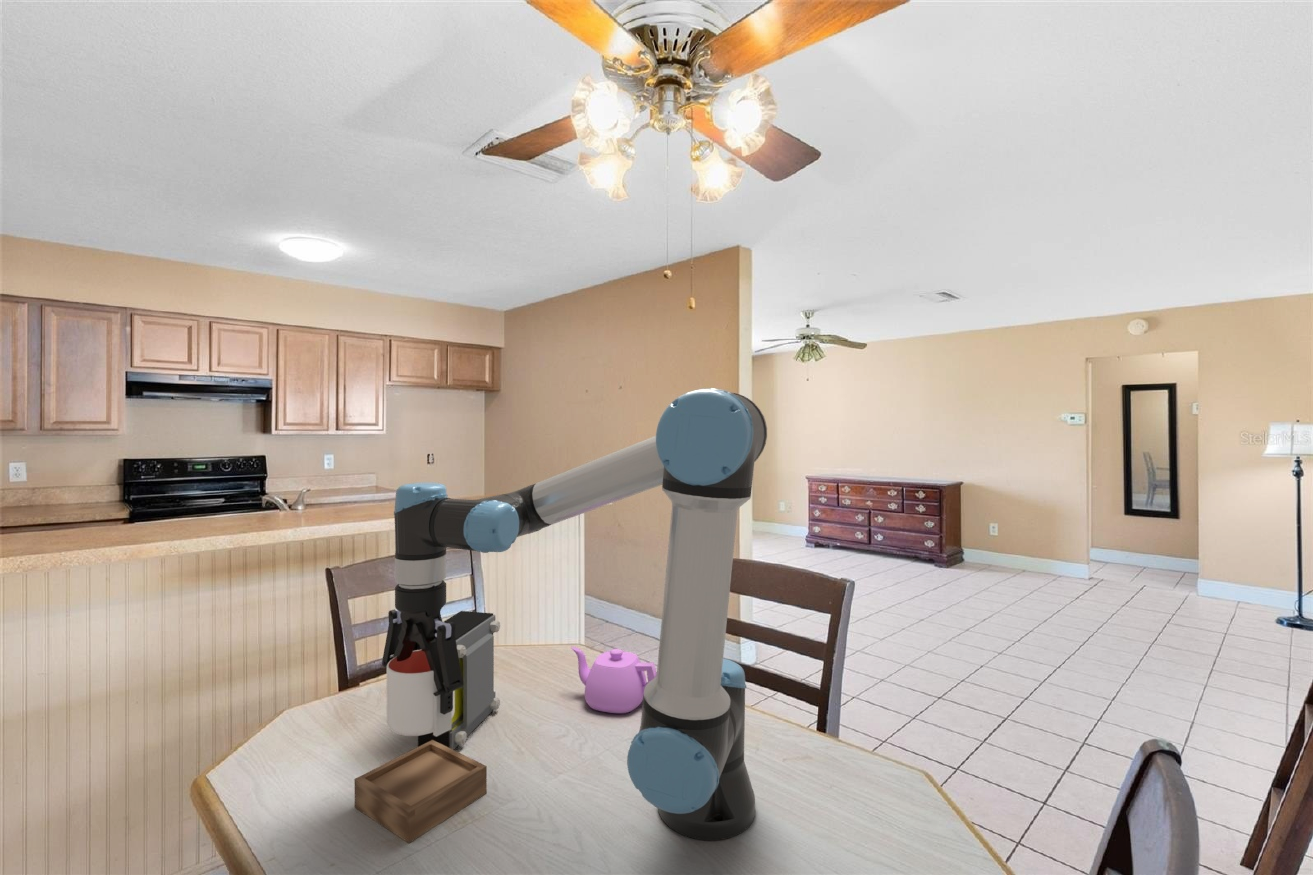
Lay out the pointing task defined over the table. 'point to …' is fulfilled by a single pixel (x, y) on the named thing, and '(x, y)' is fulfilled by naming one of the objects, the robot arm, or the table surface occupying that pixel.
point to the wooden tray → (420, 789)
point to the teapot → (614, 680)
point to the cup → (411, 695)
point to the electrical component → (470, 676)
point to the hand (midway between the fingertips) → (421, 721)
